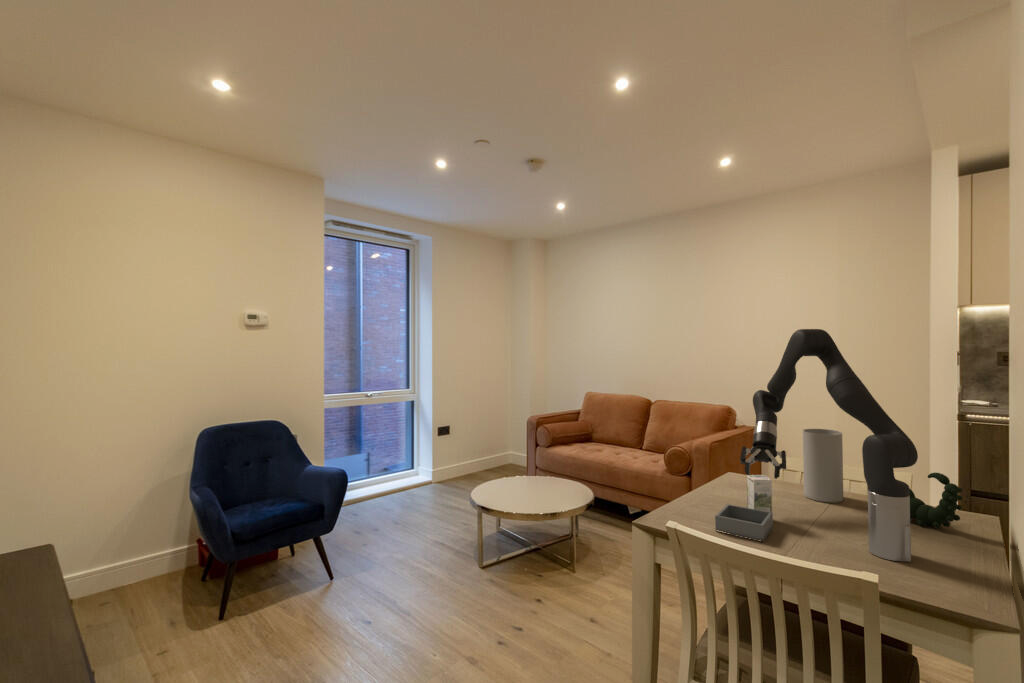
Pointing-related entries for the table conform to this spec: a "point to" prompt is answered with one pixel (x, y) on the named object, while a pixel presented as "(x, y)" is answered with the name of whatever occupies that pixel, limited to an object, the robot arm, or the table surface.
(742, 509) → the crate
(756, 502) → the syrup box
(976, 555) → the table surface
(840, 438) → the cylinder vase
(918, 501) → the toy figurine
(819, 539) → the table surface
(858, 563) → the table surface
